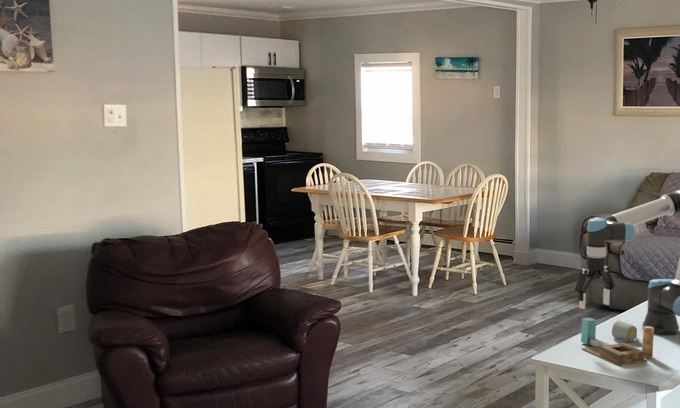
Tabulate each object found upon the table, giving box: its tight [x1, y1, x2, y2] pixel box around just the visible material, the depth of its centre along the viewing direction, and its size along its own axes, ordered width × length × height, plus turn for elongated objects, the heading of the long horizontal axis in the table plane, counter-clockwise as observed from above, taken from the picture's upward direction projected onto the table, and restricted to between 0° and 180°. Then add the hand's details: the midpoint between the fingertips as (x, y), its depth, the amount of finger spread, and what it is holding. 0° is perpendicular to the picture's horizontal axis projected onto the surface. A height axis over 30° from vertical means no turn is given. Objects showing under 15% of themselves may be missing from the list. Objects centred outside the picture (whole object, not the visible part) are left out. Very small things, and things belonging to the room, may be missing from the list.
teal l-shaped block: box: [580, 317, 616, 350], centre depth 333 cm, size 4×18×10 cm, turn 22°
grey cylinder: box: [611, 320, 638, 343], centre depth 347 cm, size 11×8×8 cm
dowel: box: [641, 326, 655, 359], centre depth 322 cm, size 4×4×12 cm
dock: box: [581, 342, 648, 367], centre depth 325 cm, size 14×22×4 cm, turn 22°
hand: (594, 306), depth 336 cm, fingers open, 13 cm apart
